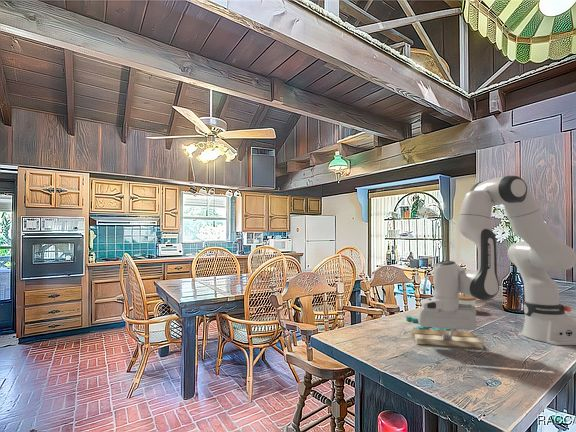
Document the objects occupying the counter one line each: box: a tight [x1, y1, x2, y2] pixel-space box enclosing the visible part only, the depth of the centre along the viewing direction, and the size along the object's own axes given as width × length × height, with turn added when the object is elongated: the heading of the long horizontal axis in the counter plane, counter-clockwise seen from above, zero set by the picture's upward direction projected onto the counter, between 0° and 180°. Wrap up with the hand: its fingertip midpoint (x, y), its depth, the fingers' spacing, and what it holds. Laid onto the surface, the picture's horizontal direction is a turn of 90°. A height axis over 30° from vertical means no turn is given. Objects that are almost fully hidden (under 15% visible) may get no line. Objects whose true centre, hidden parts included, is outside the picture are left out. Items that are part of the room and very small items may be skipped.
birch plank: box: [414, 334, 484, 349], centre depth 122 cm, size 23×6×2 cm, turn 75°
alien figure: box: [405, 315, 451, 331], centre depth 145 cm, size 20×2×20 cm
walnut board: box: [411, 328, 477, 339], centre depth 129 cm, size 23×6×2 cm, turn 75°
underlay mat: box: [411, 332, 485, 350], centre depth 126 cm, size 24×13×1 cm, turn 75°
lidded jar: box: [459, 293, 477, 308], centre depth 170 cm, size 11×11×9 cm
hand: (447, 339), depth 121 cm, fingers closed, pressing on birch plank
